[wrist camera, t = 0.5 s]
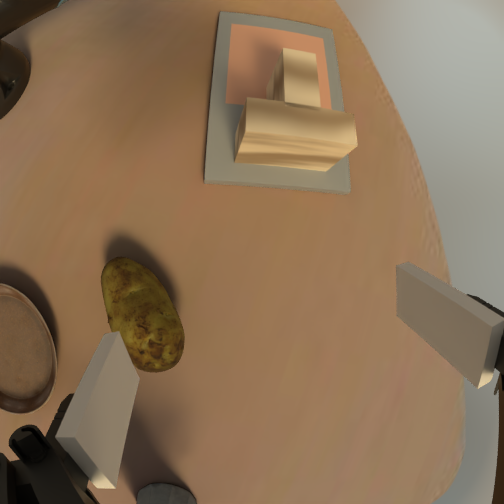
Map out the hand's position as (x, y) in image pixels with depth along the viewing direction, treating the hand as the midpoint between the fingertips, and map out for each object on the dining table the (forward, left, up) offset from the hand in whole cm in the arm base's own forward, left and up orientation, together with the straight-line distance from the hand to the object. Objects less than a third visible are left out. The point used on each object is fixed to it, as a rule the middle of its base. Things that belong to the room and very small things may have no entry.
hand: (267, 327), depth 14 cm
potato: (-3, -9, -25) cm, 27 cm away
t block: (-17, +16, -24) cm, 33 cm away
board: (-23, +19, -25) cm, 39 cm away
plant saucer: (-6, -30, -26) cm, 39 cm away
